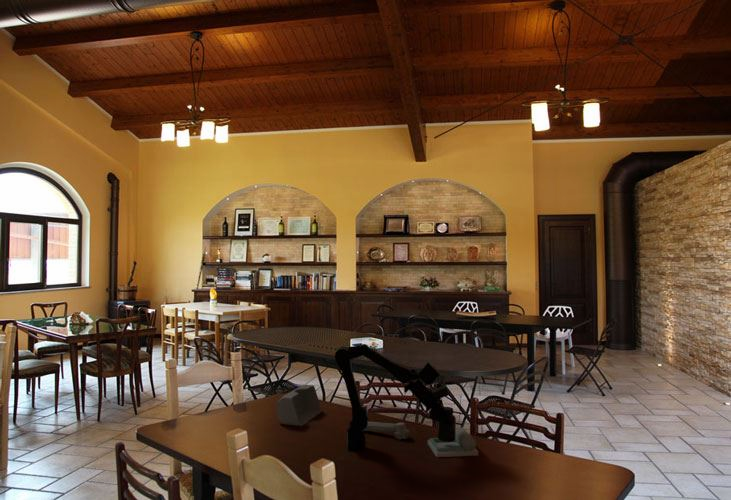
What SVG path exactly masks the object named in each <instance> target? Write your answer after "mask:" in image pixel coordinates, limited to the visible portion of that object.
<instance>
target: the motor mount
mask: <svg viewBox="0 0 731 500" xmlns="http://www.w3.org/2000/svg"><path fill="white" fill-rule="evenodd" d="M427 445H428V446H429V448H430V450H431V451H432V452H433V454H434V455H435V457H436V458H446V457H447V458H448V457H450V458H451V457H469V456H470V457H472V456H479V451H478V449H477V441H476V439H475V438H474V437H473V436H472V435H471V434H470V433H469V432H468V431H467V430H466V429H465V428H464V427H462V426H458V427H456V436H455V440H454V441H453V442H443V441H440V440H439V439H438V437H431V438H429V439H428V440H427Z"/></svg>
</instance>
